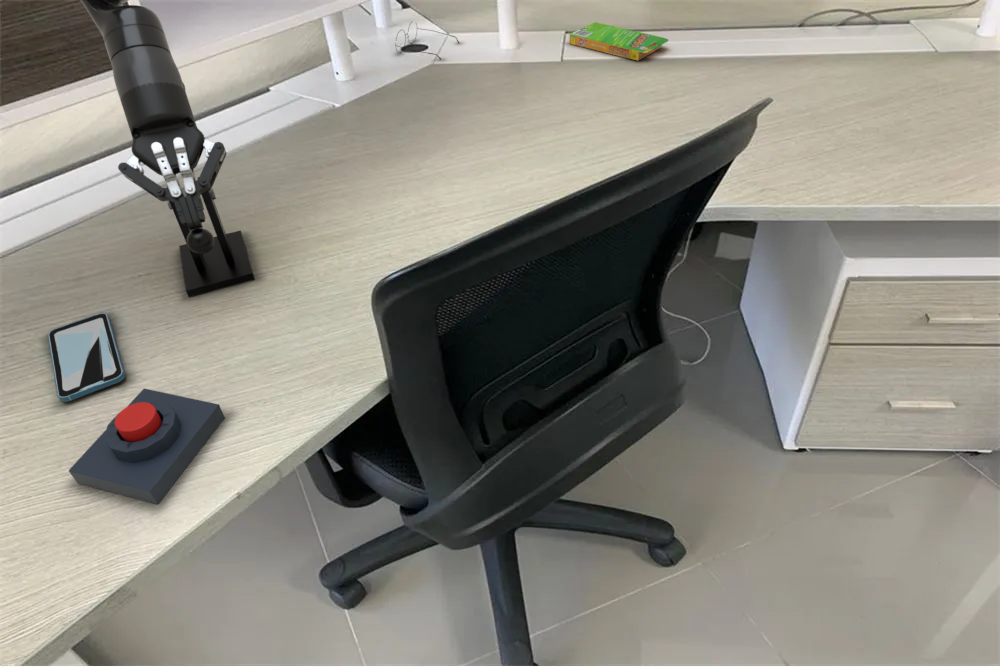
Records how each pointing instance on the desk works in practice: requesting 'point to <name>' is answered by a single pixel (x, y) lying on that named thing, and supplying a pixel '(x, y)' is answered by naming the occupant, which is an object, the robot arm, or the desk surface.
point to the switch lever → (199, 237)
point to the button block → (149, 449)
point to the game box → (616, 40)
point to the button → (138, 422)
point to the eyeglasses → (415, 38)
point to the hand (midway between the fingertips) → (195, 227)
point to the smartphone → (85, 357)
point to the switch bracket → (214, 256)
